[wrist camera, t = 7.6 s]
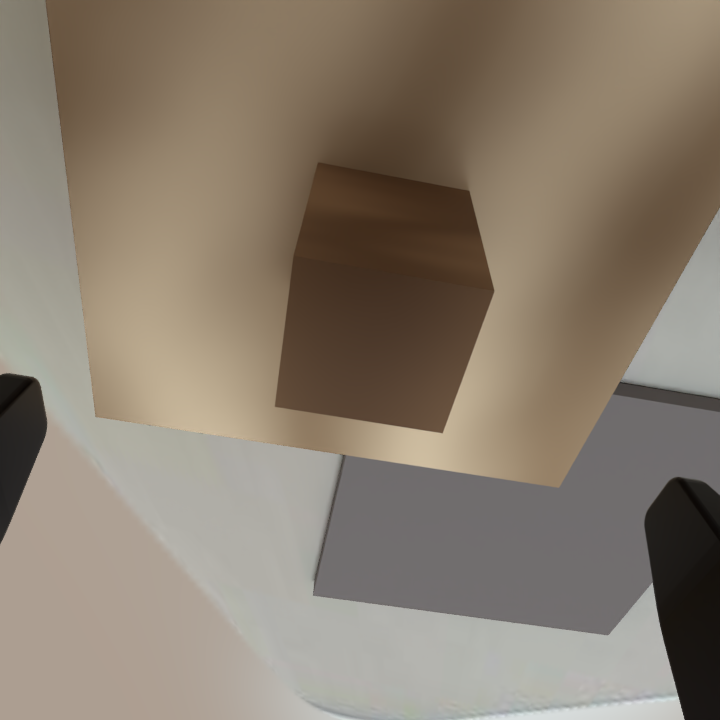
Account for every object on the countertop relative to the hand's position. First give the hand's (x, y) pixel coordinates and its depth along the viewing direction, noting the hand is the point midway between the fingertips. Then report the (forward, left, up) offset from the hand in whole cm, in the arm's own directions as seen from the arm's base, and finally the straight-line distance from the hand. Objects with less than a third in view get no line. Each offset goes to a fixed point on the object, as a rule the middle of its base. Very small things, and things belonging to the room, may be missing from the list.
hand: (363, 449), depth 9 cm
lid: (0, 0, -7) cm, 7 cm away
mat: (-9, +15, -12) cm, 21 cm away
